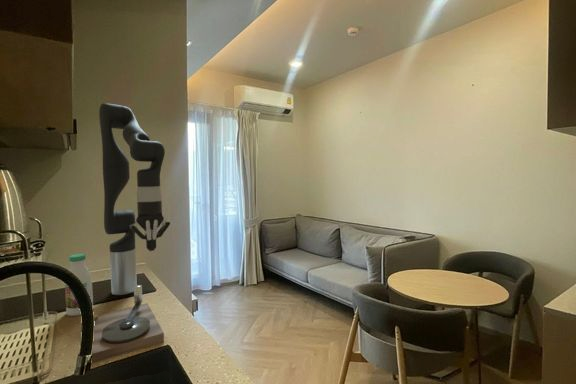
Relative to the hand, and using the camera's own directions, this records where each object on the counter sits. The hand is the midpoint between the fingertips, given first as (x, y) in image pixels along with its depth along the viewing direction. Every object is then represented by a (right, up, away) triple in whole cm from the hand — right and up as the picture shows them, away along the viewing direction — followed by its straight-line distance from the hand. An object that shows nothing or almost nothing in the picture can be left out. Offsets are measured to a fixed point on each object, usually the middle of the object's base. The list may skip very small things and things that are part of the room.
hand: (151, 250), depth 102 cm
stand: (-3, -22, -12) cm, 26 cm away
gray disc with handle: (-1, -20, -12) cm, 23 cm away
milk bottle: (-26, -22, +2) cm, 34 cm away
